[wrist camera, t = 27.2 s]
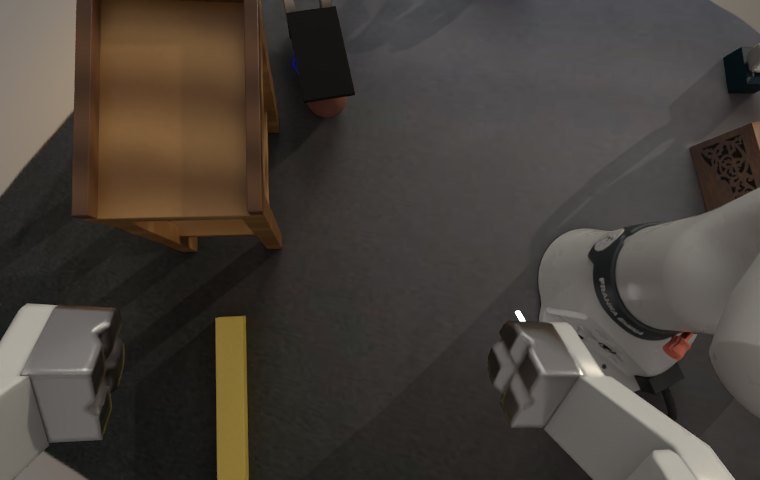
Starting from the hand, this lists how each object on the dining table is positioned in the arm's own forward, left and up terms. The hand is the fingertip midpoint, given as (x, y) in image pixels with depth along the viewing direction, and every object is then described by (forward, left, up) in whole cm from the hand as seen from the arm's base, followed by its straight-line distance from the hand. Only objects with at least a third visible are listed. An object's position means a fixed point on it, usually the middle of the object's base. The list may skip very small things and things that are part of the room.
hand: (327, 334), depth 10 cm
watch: (-18, -69, -51) cm, 87 cm away
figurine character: (+22, -21, -51) cm, 59 cm away
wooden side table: (+18, -3, -50) cm, 53 cm away
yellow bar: (-4, +16, -50) cm, 53 cm away
